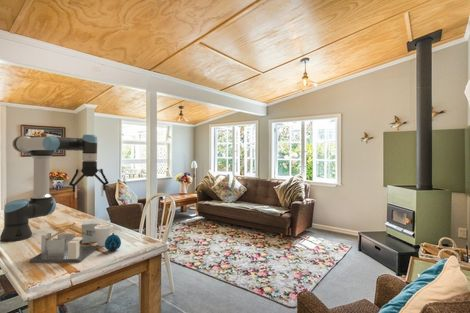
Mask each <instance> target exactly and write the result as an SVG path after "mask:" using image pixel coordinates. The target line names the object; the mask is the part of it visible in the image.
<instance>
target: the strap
mask: <svg viewBox="0 0 470 313" xmlns="http://www.w3.org/2000/svg"><path fill="white" fill-rule="evenodd" d="M78 223H79V222H78V221H75V222H73V223H72V224H70V225H68V226H67V227H65V228H63V229H61V230H59V231H58V232H55V233H54V234H53V235H51V237H49V238H48V239H47V240H49V239H54V237H56V236H58V235H59V234H62V233H63V232H64V231H67V230H68V229H69V228H71V227H73V226H74V225H76V224H78Z"/></svg>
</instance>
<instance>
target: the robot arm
mask: <svg viewBox="0 0 470 313" xmlns="http://www.w3.org/2000/svg"><path fill="white" fill-rule="evenodd" d="M12 147H13V149H14V150H15V151H16V152H19V153H23V154H30V157H31V158H32V159H33V176H32V177H33V180H32V181H33V184H32V187H33V188H32V190H33V193H32V195H31V196H29V197H30V199H28V198H21V199H14V200H11V201H9V202H6V203H5V204H4V208H3V216H4V217H3V218H4V220H3V222H4V223H3V229H2V232H1V234H0V242H2V243H3V242H4V243H6V242H7V243H11V242H18V241H24V240H27V239H29V238H31V237H32V236H33V231H32V230H31V227H30V224H29V220H31V219H36V218H40V217H46V216H49V215H52V214H53V213H54V212H55V210H56V207H57V202H56V199H55V198H54V197H53V196H52V195H51V193H50V167H51V166H50V164H51V163H50V161H51V160H50V159H52V158H53V154H55V153H56V152H57V151H81V152H82V154H81V155H82V156H81V157H82V165H81V166H82V167H81V169H78V168H76V169H75V173H74V175H73V177H72V179H71V180H70V181H69V183H68V186H69V187H72V192H73V193H74V199H77V197H78V196H77V191H78V189H77V188H78V186H77V185H78V183H80V182H81V180H82V179H83V178H84V177H87V178H88V177H92V178H93V177H95V178H96V179H97V180H98V181H99V182H100V183H101V184H102V185H101V190H100V191H101V197H104V191H106V185H109V183H110V182H109V180H108V179H107V177H106V175H105V174H104V169H103V168H99V169H98V161H97V160H98V136H97V135H95V134H83V135H82V137H67V136H66V137H65V136H51V135H50V136H49V135H48V136H45V135H30V134H29V135H28V134H27V135H24V134H23V135H19V136H16V137H15V138H14V139H13V141H12ZM98 172H99V173H100V174H101V177H102V178H103V179H102V178H100V176H98V174H97V173H98ZM80 173H82V175H81V176H80V177H79V178H78V179H77V180H75V179H76V178H77V176H78V174H80ZM74 181H75V182H74Z"/></svg>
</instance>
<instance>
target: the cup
mask: <svg viewBox="0 0 470 313" xmlns="http://www.w3.org/2000/svg"><path fill="white" fill-rule="evenodd" d="M94 228H95V233H96V239H97V242H96V243H97V247H105V241H106V239H107V238H108V237H109V236H110V235H112V231H113V224H106V223H105V224H98V226H95V227H94Z"/></svg>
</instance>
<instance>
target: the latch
mask: <svg viewBox="0 0 470 313" xmlns="http://www.w3.org/2000/svg"><path fill="white" fill-rule="evenodd" d="M82 239H83V237H82V236H75V238H73V239H72V240H71V241H70V242H68V259H77V258H78V257H79V246H80V242H81V241H82Z"/></svg>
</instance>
